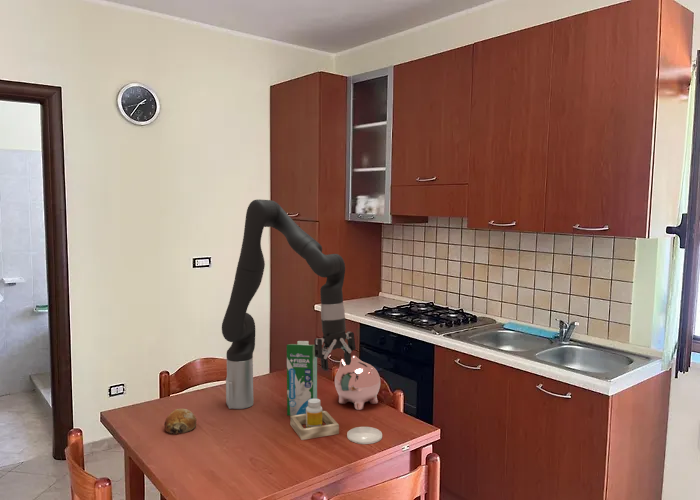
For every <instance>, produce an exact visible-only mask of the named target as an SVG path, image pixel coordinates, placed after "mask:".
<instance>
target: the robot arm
mask: <svg viewBox="0 0 700 500" xmlns="http://www.w3.org/2000/svg"><path fill="white" fill-rule="evenodd" d="M264 228H274V229H275V230H277V231H278V232H280V233H281V234H282V235H283V236H284V237H285V238H286V239H285V240H286V241H287V244H288V245H289V246H290V247H291V249H292V250H293V251H294V252H295V253H296V254H298V255H299V256H300V257H301V258H303V260H305V261H306V263H307V265H308V266H309V267H310V269H311V270H312V272H313V273H314V274H316V275H317V276H318V277H321V278H326V280H325V283H324V284H323V285H322V286H321V287H320V290H319V291H320V293H319V294H320V318H321V330H322V337H321V338H320V337H319V338H317V337H316V338H314V341H313V342H314V344H313V345H315V357H317V359H320V365H321V369H322V370H323V371H325V372H326V371H329V362H328V360H329V359H328V356H329V354H330V353H332V351H333V350H337V349H342V351H343V359H344V361H345V365H350V363H351V357H352V352H353V351H356V348H357V347H356V342H355V340H356V339H355V332H353V331H346V329H347V328H346V327H347V326H346V315H345V313H346V312H345V305H344V295H343V294H344V293H343V287H344V281H345V277H346V276H345V274H346V263H345V260H344V259H343V257H342V255H340V254H338V253H332V254H325V253H323V247H322V245H321V244H320V243H319V242H318V241H317V240H316V239H314V238H313V237H312V236H311V235H309V234H308V233H307V232H306V231H304V230H303V229H302V228H301V227H300V226H299V225H298V223H296V222H295V221H294V219H292V218H291V216H290V215H289V214H288V213H287V211H285V209H284V208H283V207H281V205H280V204H279V203H278V202H277V201H274V200H271V199H254V200H252V201H251V202H250V203H249V204H248V207H247V208H246V214H245V222H244V230H243V236H242V237H243V238H242V242H241V243H242V244H241V249H240V253H239V257H238V262H237V266H236V269H235V270H236V271H235V275H234V281H233V284H232V290H231V294H230V299H229V302H228V304H227V309H226V311H225V314H224V317H223V319H222V323H221V334H222V336H223V338H224V339H225V341H228V342H229V343H231V345H230V346H229V348H228V349H227V351H226V378H225V399H226V400H225V401H226V406H227V407H228V409H229V410H231V409H232V410H233V409H235V410H243V409H247V408H250V407H252V406H253V405H254V364H253V362H254V360H253V358H254V356H253V355H254V354H253V353H254V352H255V347H256V322H255V319H254V318H253V316H252V314H250V313H248V312H247V311H248V308H249V306H250V303H251V301H252V300H253V298H254V297H255V295H256V294H257V292H258V289H259V288H260V285H261V283H262V280H263V275H264V271H265V267H266V266H265V265H266V264H265V263H266V261H265V258H264V254H263V249H262V245H261V244H262V243H261V241H262V236H263V231H264ZM346 340H347V341H346Z"/></svg>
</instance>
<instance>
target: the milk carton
mask: <svg viewBox="0 0 700 500" xmlns="http://www.w3.org/2000/svg"><path fill="white" fill-rule="evenodd" d="M309 399H318V357H315V344H309V340H298V341H297V343H289V344H286V405H287V406H286V416H294V415H300V414H306V408H307V406H308V400H309Z"/></svg>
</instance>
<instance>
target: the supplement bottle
mask: <svg viewBox="0 0 700 500" xmlns="http://www.w3.org/2000/svg"><path fill="white" fill-rule="evenodd" d="M322 411H323V407H322V405H321V399H319V398H317V399H309V400H308V406H307V408H306V424H305V428H311V427H317V426H323V421H322Z"/></svg>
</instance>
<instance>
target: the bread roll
mask: <svg viewBox="0 0 700 500" xmlns="http://www.w3.org/2000/svg"><path fill="white" fill-rule="evenodd" d="M163 425H164V426H163V427H164V430H165V431H166V432H167V433H168V434H172V433H173V434H172V435H178V434H177V433H181V434H185V433H188V432H191V431H193V429H196V426H197V417H196V415H195V414H194V413H193V412H192V411H191V410H189V409H187V408H177V409H174V410H173V411H172V412H171V413H169V415H167V416H166V418H165V420H164V424H163Z"/></svg>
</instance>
